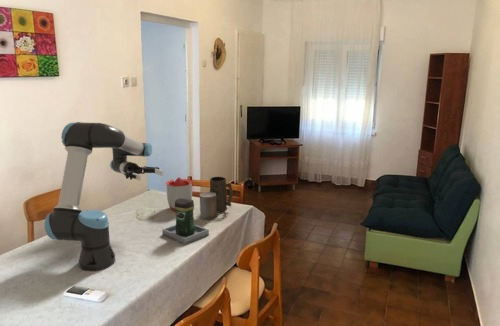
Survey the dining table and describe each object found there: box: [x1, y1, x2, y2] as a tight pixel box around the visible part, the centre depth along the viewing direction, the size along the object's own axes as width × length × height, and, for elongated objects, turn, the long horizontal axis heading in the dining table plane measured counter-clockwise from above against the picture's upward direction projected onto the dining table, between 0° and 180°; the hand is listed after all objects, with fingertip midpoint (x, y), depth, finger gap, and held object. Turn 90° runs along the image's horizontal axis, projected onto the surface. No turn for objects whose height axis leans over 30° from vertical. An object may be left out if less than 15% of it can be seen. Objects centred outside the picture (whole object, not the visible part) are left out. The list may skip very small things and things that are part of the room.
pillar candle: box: [199, 191, 218, 221], centre depth 232 cm, size 10×10×15 cm
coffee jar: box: [175, 198, 196, 236], centre depth 205 cm, size 10×8×19 cm
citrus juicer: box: [165, 177, 193, 212], centre depth 245 cm, size 16×17×20 cm
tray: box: [161, 223, 210, 246], centre depth 207 cm, size 16×18×3 cm
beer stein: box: [209, 176, 234, 213], centre depth 244 cm, size 15×11×20 cm
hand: (151, 175), depth 207 cm, fingers open, 13 cm apart
